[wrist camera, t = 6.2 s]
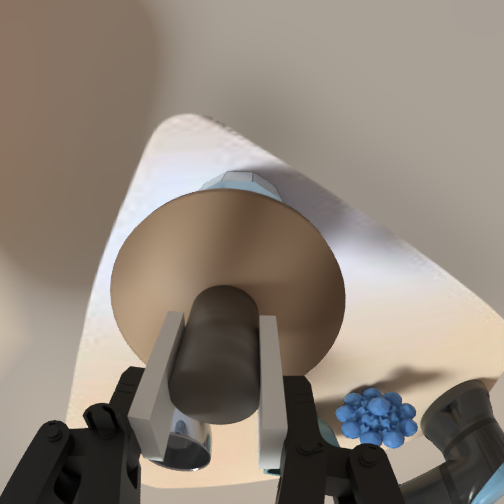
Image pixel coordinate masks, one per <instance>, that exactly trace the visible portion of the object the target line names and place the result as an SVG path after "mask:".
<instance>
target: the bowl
mask: <svg viewBox="0 0 504 504" xmlns="http://www.w3.org/2000/svg"><path fill="white" fill-rule="evenodd" d="M214 188H233V189H241V190H249V191H253V192H256V193H260V194H264V195H267V196H269V197H272V198H274V199H276V200H279V201H281V202H283V201H282V199H281V197H280V195H279V193H278V191H277V189H276V187H275V186H274V185H273V184H271V183H270V182H268V181H266V180H265V179H263V178H262V177H260V176H258V175H257V174H255V173H253V172H230V171H227V172H225V173H223V174H221V175H219V176H217V177H216V178H214V179H212V180H210V181H208V182H207V183H205V184H204V185H203V186H202V187H201V188H200V189H199V191H201V190H207V189H214Z"/></svg>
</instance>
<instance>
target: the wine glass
mask: <svg viewBox="0 0 504 504" xmlns="http://www.w3.org/2000/svg"><path fill="white" fill-rule="evenodd" d="M211 453H212V431H211V425H210V424H208V423H203V422H200V421H197V420H194V419H192V418H190V417H188V416H186V415H184V414H183V413H182V412H180V411H179V410H178V409H177V408H176V407H175V411H174V415H173V420H172V424H171V428H170V433H169V437H168V441H167V446H166V450H165V455H164V459H163V461H156V460H150V459H148V460H149V461H151V462H153V463H155V464H157V465H159V466H161V467H164V468H167V469H171V470H176V471H196V470H200V469H203V468H205V467H206V466H207V465H208V464H209V463H210V460H211ZM141 454H142V453H141Z"/></svg>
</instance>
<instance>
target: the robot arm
mask: <svg viewBox="0 0 504 504" xmlns="http://www.w3.org/2000/svg"><path fill="white" fill-rule="evenodd" d="M184 330H185V319H184V312H177V311H168V313H167V316H166V318H165V320H164V323H163V325H162V328H161V330H160V333H159V335H158V338H157V340H156V343H155V345H154V348H153V350H152V353H151V355H150V358H149V360H148V363H147V365H146V368H140V367H132V366H130V367H129V368H128V369H127V370H126V371H125V372H123V373H122V375H121V377H120V380H119V382H118V384H117V386H116V389H115V392H114V393H113V395H112V398H111V400H110V402H109V404H106V403H97V404H94V405H92V406H90V407H89V408H87V409H86V410H85V412H84V414H83V417H84V419H85V422H86V424H87V426H88V428H82V429H69V428H68V427H67V425H66V424H65V423H63V422H61V421H56V420H53V421H48V422H47V423H45V424H43V425H42V426H41V428H40V429H39V430H38V432H37V434H36V435H35V437H34V438H33V440H32V442H31V443H30V445H29V447H28V448H27V450H26V452H25V454H24V455H23V457H22V459H21V460H20V462H19V464H18V466H17V467H16V469H15V471H14V473H13V475H12V476H11V478H10V480H9V482H8V483H7V485H6V487H5V489H4V491H3V492H2V494H1V496H0V504H140V484H141V466H140V463H139V457H140V454H141V453H142V455H143V458H144V459H150V460H156V461H163V459H164V455H165V450H166V446H167V441H168V437H169V433H170V428H171V424H172V420H173V415H174V411H175V406H174V405H173V403H172V402H171V400H170V395H169V390H168V384H169V381H170V377H171V374H172V370H173V367H174V364H175V360H176V357H177V353H178V350H179V347H180V343H181V340H182V337H183V334H184ZM259 363H260V401H259V407H258V465H259V469H279V468H280V470H281V475H280V479H279V483H278V491H277V496H276V502H275V504H324V499H325V495H328V496H333V500H334V504H494V503H495V502H496V501H497V500H499V499H500V498H501V497H502V496H503V495H504V433H503V431H502V429H501V428H500V426H499V424H498V423H497V421H496V420H495V418H494V415H493V411H492V407H491V403H490V400H489V392H488V390H487V389H486V387H485V386H484V384H483V383H482V382H480V381H476V380H475V381H468V382H465V383H462V384H460V385H458V386H456V387H454V388H452V389H451V390H449V391H447V392H446V393H445V394H443V395H442V396H441V397H439V398H438V399H437V400H436V401H435V402H434V403H433V404H432V405H431V406H430V407H429V408H428V410H427V411H426V412H425V414H424V415H423V417H422V420H421V429H422V431H423V433H424V435H425V437H426V438H427V439H428V440H430V441H431V442H433V444H434V445H435V446H436V447H437V448H438V449H439V450H440V451H441V452H442V454H443V456H444V458H445V460H446V462H444V463H443V464H441V465H439V466H437V467H435V468H433V469H432V470H430V471H428V472H426V473H424V474H422V475H420V476H418V477H416V478H414V479H412V480H410V481H407V482H405V483H403V484H399V485H398V482H397V480H396V477H395V475H394V472H393V470H392V467H391V464H390V462H389V459H388V457H387V454H386V453H385V451H384V450H383V449H382V448H381V447H379V446H378V445H375V444H372V443H363V444H360V445H357V446H356V447H355V448H354V449H347V448H341V447H337V446H333V445H331V444H330V443H328V442H327V441H326V440H324V438H323V437H322V436H321V433H320V429H319V424H318V419H317V414H316V408H315V404H314V398H313V393H312V388H311V384H310V382H309V381H308V380H307V379H306V377H305V376H282V367H281V358H280V348H279V339H278V330H277V321H276V316H266V315H260V317H259Z"/></svg>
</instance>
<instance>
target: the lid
mask: <svg viewBox="0 0 504 504" xmlns="http://www.w3.org/2000/svg"><path fill="white" fill-rule="evenodd" d="M110 294H111V305H112V309H113V313H114V317H115V320H116V323H117V325H118V328H119V330H120V332H121V334H122V336H123V337H124V339H125V341H126V342H127V344H128V345H129V347H130V348H131V349H132V351H133V352H134V353H135V354H136V355H137V356H138V357H139V359H140V360H141V361H142V362H144V363H145V364H146V365H147V363H148V360H149V358H150V355H151V353H152V350H153V348H154V345H155V343H156V340H157V338H158V335H159V333H160V330H161V328H162V325H163V323H164V320H165V318H166V316H167V313H168V311H177V312H184V319H185V330H184V334H183V337H182V340H181V343H180V347H179V350H178V353H177V357H176V360H175V364H174V367H173V370H172V374H171V377H170V381H169V384H168V390H169V395H170V400H171V402H172V403H173V405H174V406H175V407H176V408H177V409H178V410H179V411H180V412H182V413H183V414H184V415H186V416H188V417H190V418H192V419H194V420H197V421H200V422H203V423H208V424H216V425H224V424H232V423H236V422H240V421H242V420H244V419H246V418H248V417H250V416H251V415H252V414H253V413H254V412H255V411H256V410H257V409H258V407H259V401H260V363H259V317H260V315H266V316H276V321H277V330H278V339H279V348H280V358H281V367H282V376H304V375H305V374H306V373H308V372H309V371H310V370H311V369H313V368H314V367H315V366H316V365H317V364H318V363H319V362H320V361H321V360H322V359H323V358H324V356H325V355H326V354H327V353H328V351H329V350H330V348H331V347H332V345H333V344H334V342H335V340H336V338H337V336H338V334H339V331H340V328H341V325H342V322H343V318H344V312H345V287H344V280H343V277H342V273H341V270H340V267H339V264H338V262H337V260H336V258H335V256H334V254H333V252H332V250H331V249H330V247H329V245H328V244H327V242H326V241H325V240H324V238H323V237H322V235H321V234H320V232H319V231H318V230H317V229H316V228H315V227H314V226H313V225H312V224H311V223H310V221H309V220H307V219H306V218H305V217H304V216H302V215H301V214H300V213H299V212H297V211H296V210H295V209H293V208H291V207H290V206H288V205H286V204H285V203H283V202H281V201H279V200H276V199H274V198H272V197H269V196H267V195H264V194H260V193H256V192H253V191H249V190H241V189H233V188H214V189H207V190H201V191H196V192H192V193H189V194H186V195H182V196H180V197H178V198H175V199H173V200H171V201H169V202H167V203H165V204H164V205H162V206H161V207H159V208H158V209H156V210H155V211H153V212H152V213H151V214H150V215H149V216H148V217H147V218H145V219H144V220H143V221H142V222H141V223H140V224H139V225H138V226H137V227H136V228H135V229H134V230H133V231H132V233H131V234H130V235H129V236H128V237H127V239H126V240H125V242H124V244H123V245H122V247H121V249H120V250H119V253H118V255H117V258H116V260H115V263H114V266H113V271H112V275H111V286H110Z"/></svg>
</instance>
